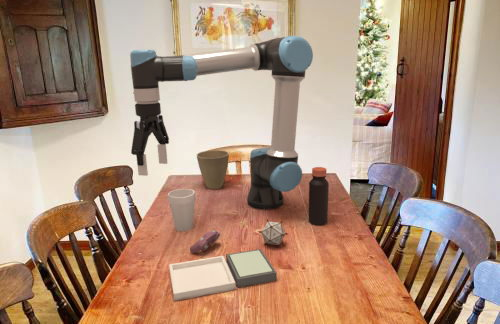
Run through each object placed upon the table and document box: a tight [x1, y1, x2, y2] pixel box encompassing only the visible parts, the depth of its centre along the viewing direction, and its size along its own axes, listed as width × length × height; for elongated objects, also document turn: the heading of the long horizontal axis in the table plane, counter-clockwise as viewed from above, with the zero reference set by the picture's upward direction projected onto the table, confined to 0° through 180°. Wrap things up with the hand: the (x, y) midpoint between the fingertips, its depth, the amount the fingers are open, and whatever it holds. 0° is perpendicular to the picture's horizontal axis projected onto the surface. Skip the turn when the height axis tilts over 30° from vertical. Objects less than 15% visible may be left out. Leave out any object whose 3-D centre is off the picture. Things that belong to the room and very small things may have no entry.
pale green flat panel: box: [230, 249, 273, 278], centre depth 105 cm, size 9×12×1 cm
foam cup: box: [167, 188, 196, 232], centre depth 132 cm, size 10×9×13 cm
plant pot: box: [196, 149, 230, 190], centre depth 175 cm, size 15×15×16 cm
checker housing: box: [225, 248, 277, 289], centre depth 105 cm, size 11×14×2 cm
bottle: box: [308, 166, 330, 226], centre depth 134 cm, size 7×7×20 cm
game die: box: [258, 218, 288, 248], centre depth 120 cm, size 9×8×10 cm
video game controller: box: [189, 229, 221, 254], centre depth 118 cm, size 10×5×7 cm, turn 148°
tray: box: [168, 255, 237, 302], centre depth 102 cm, size 16×15×2 cm
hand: (153, 169), depth 121 cm, fingers open, 13 cm apart
